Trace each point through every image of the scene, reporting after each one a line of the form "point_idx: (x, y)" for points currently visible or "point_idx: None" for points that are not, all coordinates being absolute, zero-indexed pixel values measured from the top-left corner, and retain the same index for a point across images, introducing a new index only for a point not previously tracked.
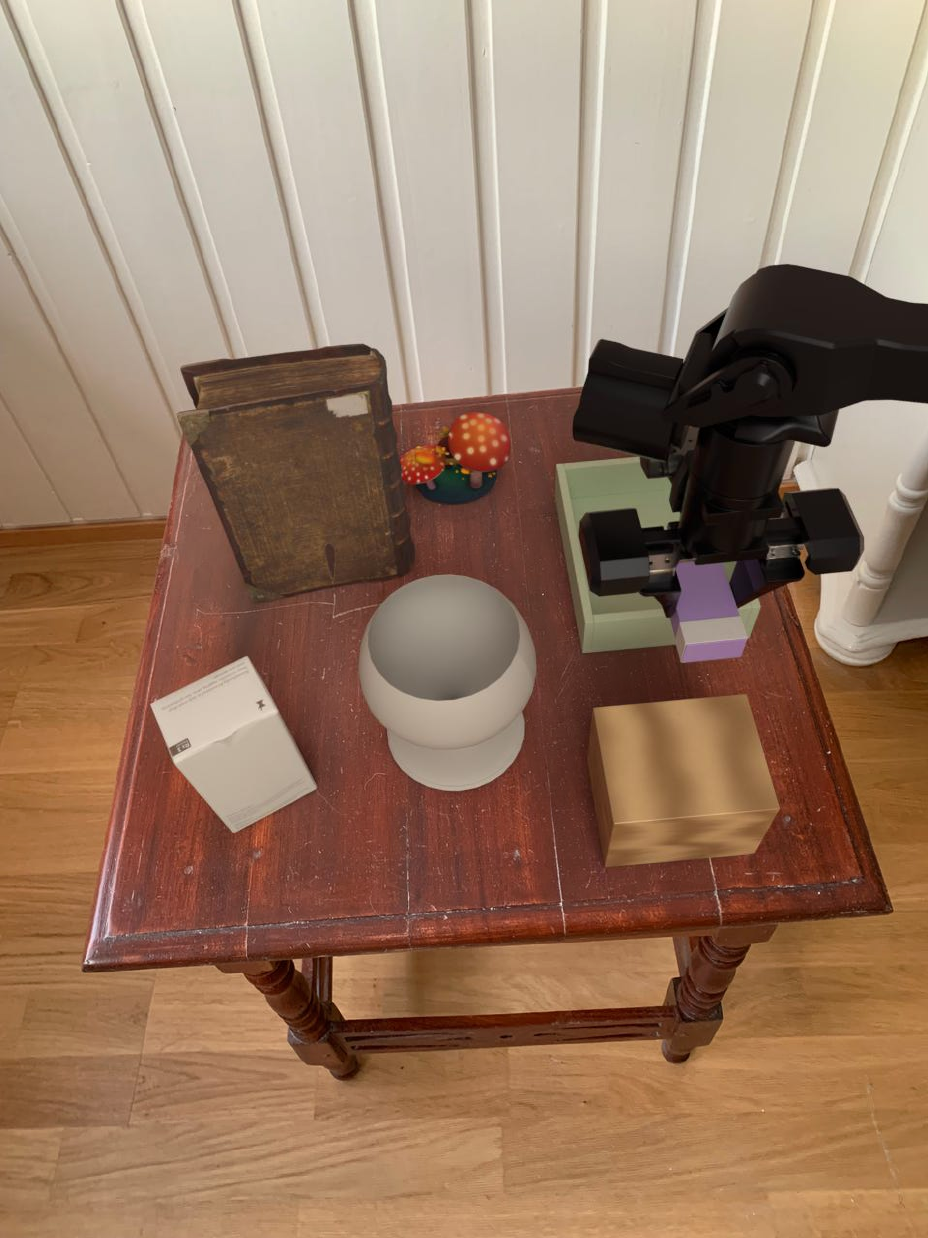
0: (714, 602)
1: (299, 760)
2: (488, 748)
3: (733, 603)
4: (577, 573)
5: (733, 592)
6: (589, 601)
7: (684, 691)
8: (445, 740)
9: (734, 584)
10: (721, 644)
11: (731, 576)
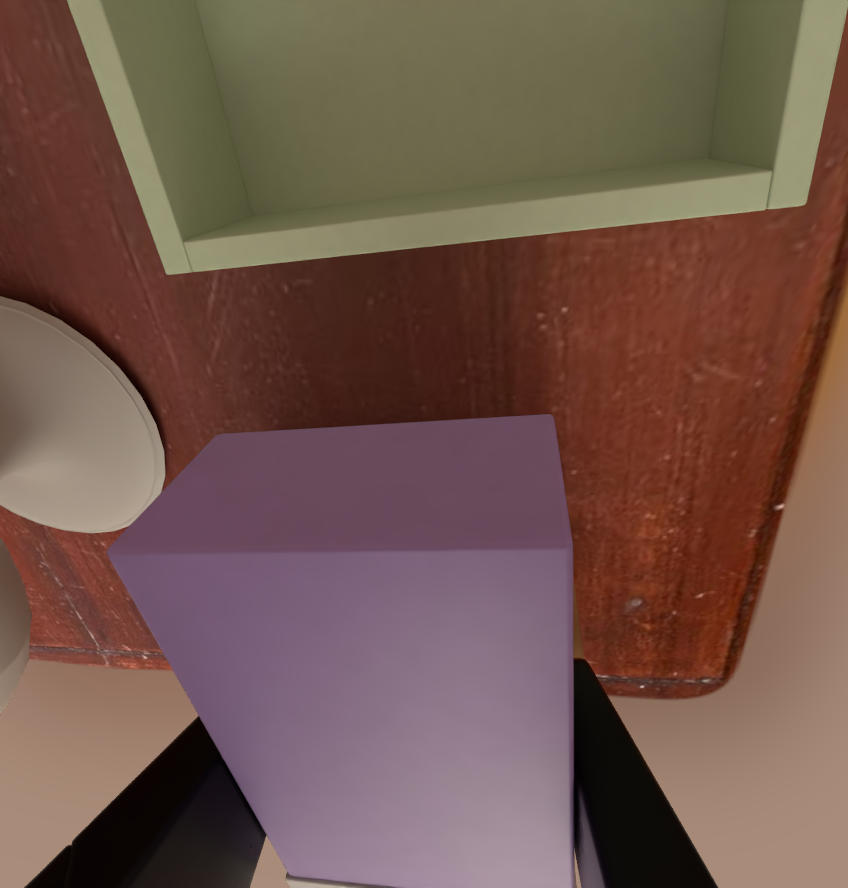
0: (457, 852)
1: None
2: (103, 483)
3: (560, 867)
4: (78, 18)
5: (579, 839)
6: (158, 180)
7: (496, 356)
8: None
9: (591, 875)
10: None
11: (590, 835)
